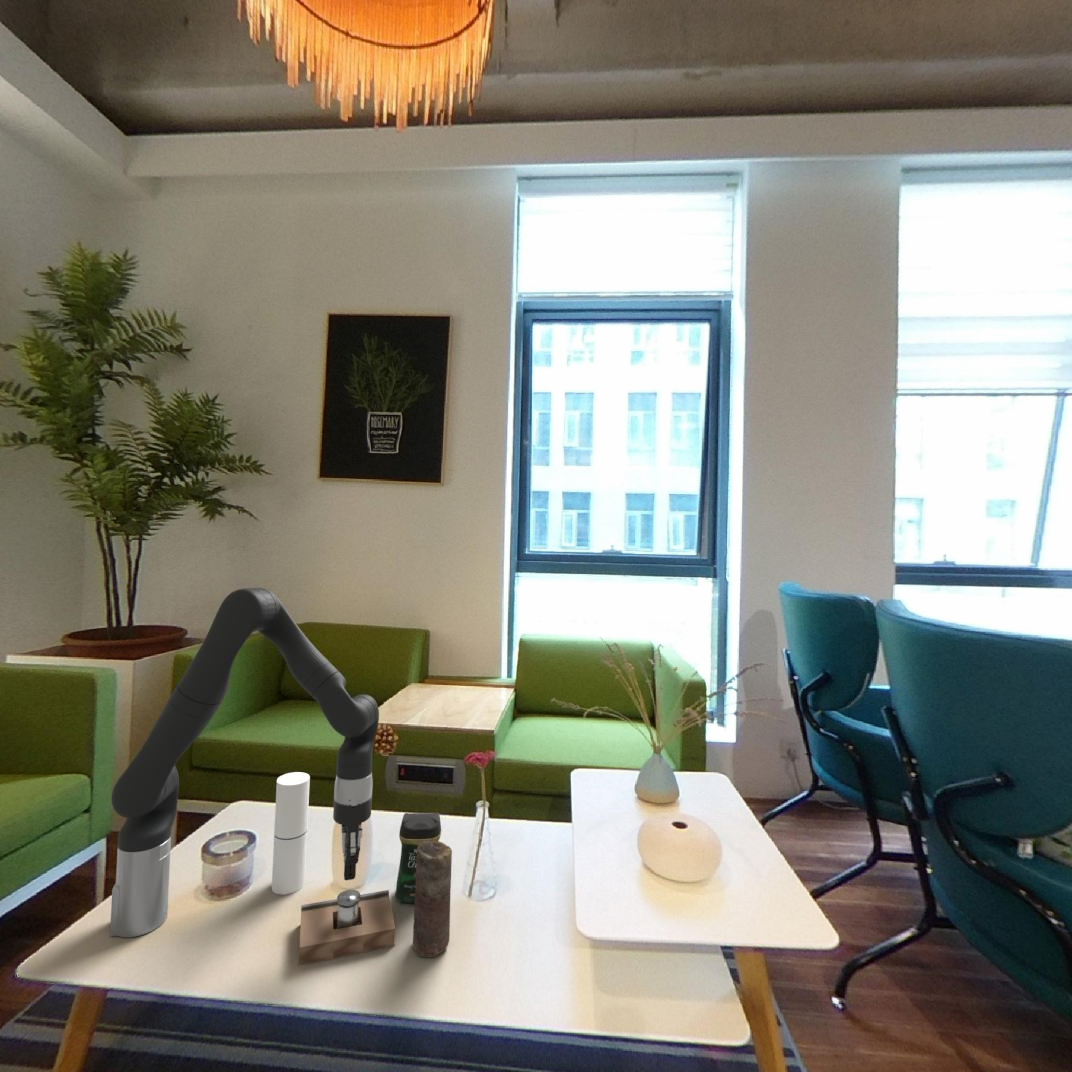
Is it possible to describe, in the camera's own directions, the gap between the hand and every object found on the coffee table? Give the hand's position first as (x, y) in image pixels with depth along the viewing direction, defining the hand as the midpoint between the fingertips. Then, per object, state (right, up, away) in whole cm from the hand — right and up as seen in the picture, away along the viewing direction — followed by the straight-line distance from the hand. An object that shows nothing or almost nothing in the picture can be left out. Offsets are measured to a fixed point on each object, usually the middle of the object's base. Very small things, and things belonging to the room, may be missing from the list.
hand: (349, 877), depth 118 cm
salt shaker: (-1, -12, 0) cm, 12 cm away
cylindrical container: (-19, -11, +15) cm, 27 cm away
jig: (-1, -12, 0) cm, 12 cm away
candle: (+17, -13, -2) cm, 22 cm away
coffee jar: (+11, -13, +14) cm, 22 cm away
